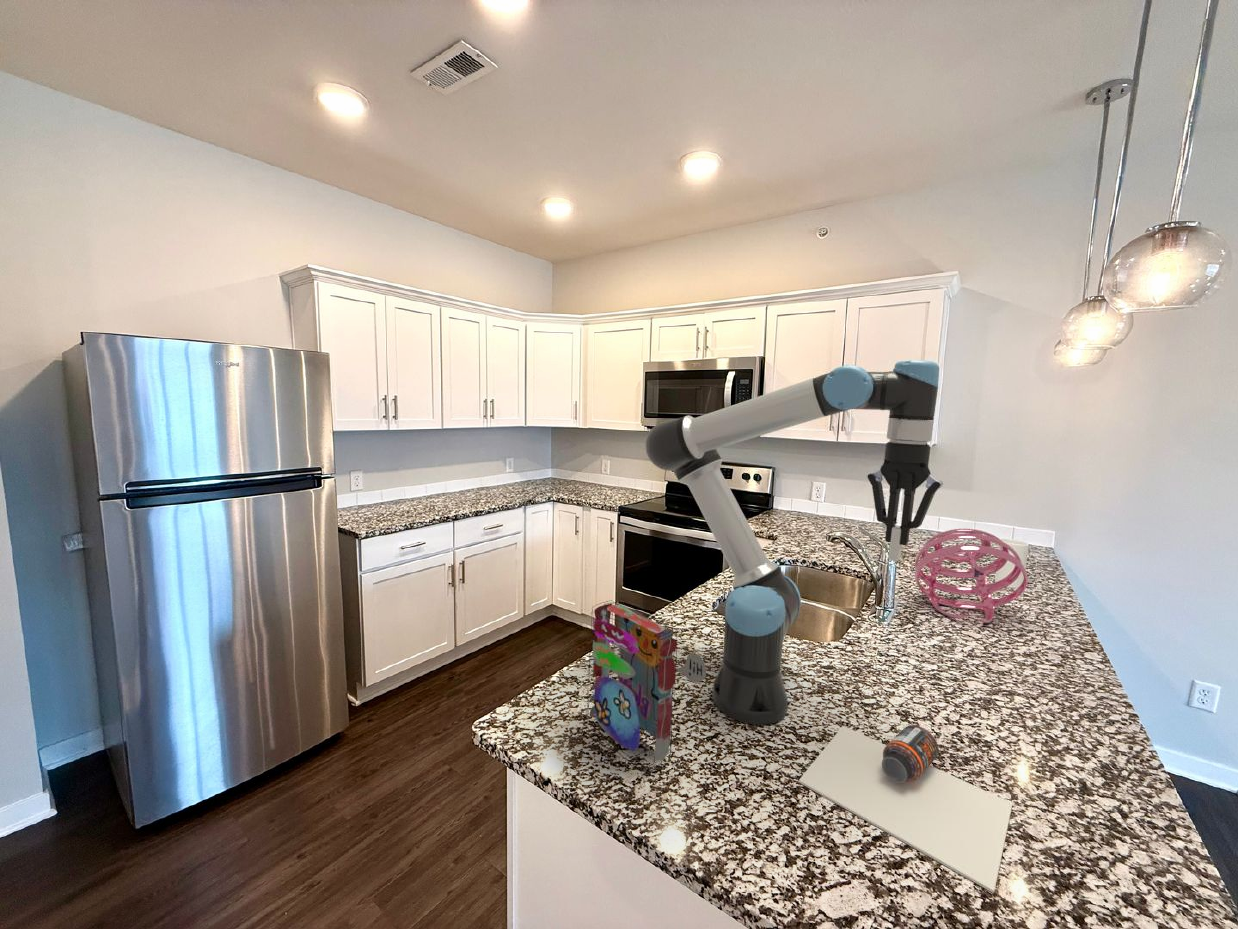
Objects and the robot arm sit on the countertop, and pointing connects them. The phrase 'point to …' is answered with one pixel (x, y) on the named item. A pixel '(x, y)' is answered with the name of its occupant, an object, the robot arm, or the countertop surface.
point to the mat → (915, 806)
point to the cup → (1022, 551)
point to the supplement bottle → (909, 754)
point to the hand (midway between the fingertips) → (894, 559)
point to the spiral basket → (968, 571)
